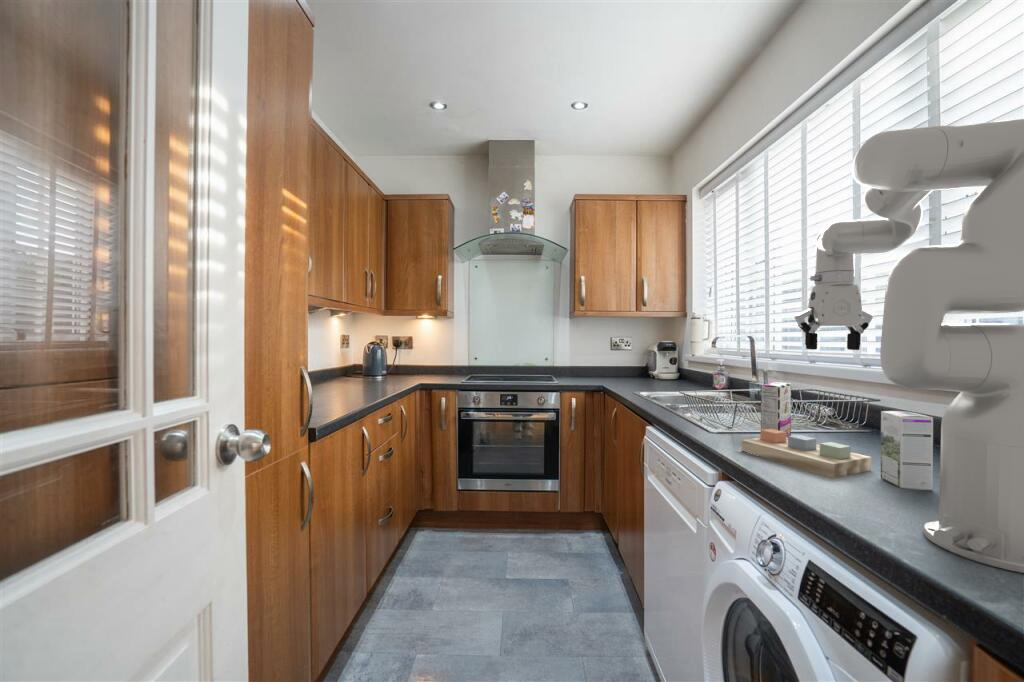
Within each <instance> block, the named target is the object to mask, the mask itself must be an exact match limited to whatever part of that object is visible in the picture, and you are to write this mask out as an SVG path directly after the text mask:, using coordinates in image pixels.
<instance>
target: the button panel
mask: <svg viewBox="0 0 1024 682" xmlns="http://www.w3.org/2000/svg"><path fill="white" fill-rule="evenodd" d="M742 451H745V452H748V453H747V454H749V453H752V454H755V455H754V456H756V455H758V456H757V457H759V456H761V457H760V458H762V457H764V459H766V458H768V459H767V460H769V459H770V461H773V462H775V463H779V462H780V464H784V465H787V466H790V467H793V468H796V467H797V468H796V469H800V470H804V471H806V472H811V473H813V474H814V473H815V474H818V475H821V476H824V477H827V478H831V479H836V478H841V477H846V476H850V475H856V474H861V473H865V472H870V471H872V463H873V461H872V458H873V457H872V456H869V455H863V454H860V453H856V452H852V451H851V458H849V459H844V460H838V459H834V458H830V457H826V456H823V455H820V444H818V443H816V450H811V451H803V450H799V449H795V448H791V447H788V438H787V437H786V442H785V443H778V444H775V443H771V442H767V441H763V440H760V437H754V438H746V439H741V452H742ZM745 452H744V453H745ZM752 454H751V455H752Z"/></svg>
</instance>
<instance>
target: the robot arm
mask: <svg viewBox="0 0 1024 682" xmlns="http://www.w3.org/2000/svg"><path fill="white" fill-rule="evenodd" d="M851 173H852V177H853V179H854V180H855V182H856V183H857V184H859V185H861V186H864V187H866V189H865V191H864V194H863V202H864V204H865V207H867V209H869V211H870V212H872V213H873V214H875V215H877V216H879V217H881V218H870V219H869V218H868V219H866V218H865V219H855V220H852V219H851V220H840V221H835V222H832V223H829V224H828V225H827V226H826V228H825V229H824V230H823V231H821V232H819V233H818V234H817V236H816V238H815V240H816V241H815V272H814V275H810V278H809V280H810V282H814V286H812V288H811V291H810V294H809V299H808V307H807V309H806V310H803V311H802V312H800V313H798V314H796V315H795V316H794V319H795V321H796V323H797V326H798V327H799V328H800V330H802V332H803V334H805V335H804V336H805V339H804V342H805V343H804V344H805V349H806V350H813V351H814V350H817V349H818V333H817V332H816V331H817V330H818V329H819V328H820V327H823V326H824V327H845V328H846V329H847V330H848V331H849V333H847V335H846V337H847V338H846V340H847V341H846V342H847V343H846V349H847V350H848V351H849V350H850V351H851V350H853V351H859V350H860V347H861V335H862V334H863V333H864V331H865V330H866V329H867V328H869V325H870V323H871V321H872V319H873V318H874V316H873V315H871V314H870V313H867V312H866V311H864V310H863V306H862V304H863V303H862V296H861V293H860V292H861V291H860V287H859V285H858V284H855V264H856V260H855V259H856V254H857V255H859V254H860V255H861V254H883V253H888V252H890V251H893V250H896V249H897V248H899V247H900V246H902V245H903V244H904V243H906V241H908V240H909V239H910V238H911V237H913V236H914V234H915V233H916V232H917V230H918V229H919V227H920V224H921V222H922V218H923V206H922V201H923V200H924V199H925V198H926V197H927V196H928V195H930V194H931V193H932V192H933V191H940V190H951V189H953V190H954V189H962V188H973V187H974V188H975V187H976V188H977V187H984V188H983V189H982V190H981V191H980V192H979V193H978V194H977V195H976V197H974V199H973V200H972V201H971V202H970V203H969V204H968V206H967V208H966V209H965V211H964V213H963V217H962V221H961V232H960V239H959V242H958V244H944V245H943V244H941V245H940V244H939V245H927V246H923V247H917V248H914V249H912V250H909V251H908V252H906V253H904V254H903V255H902V256H900V257H899V259H898V260H896V262H895V263H894V265H893V267H892V268H891V270H890V271H889V274H888V278H887V280H886V287H885V294H884V305H883V316H882V326H881V337H880V338H881V339H880V354H879V357H880V366H881V369H882V373H883V374H884V375H885V377H886V379H887V380H888V381H890V382H891V383H892V384H894V385H895V386H896V385H897V386H899V387H901V388H906V389H914V390H929V391H930V390H931V391H955V392H956V391H959V393H958V394H957V396H956V397H954V399H953V400H952V401H951V402H950V403H949V404H948V406H947V408H946V409H945V411H944V413H943V415H942V417H941V418H942V419H941V424H940V425H941V426H940V460H939V462H940V465H939V499H938V500H939V506H938V507H939V509H938V511H939V512H938V520H935V521H928V522H926V523H924V525H923V534H924V536H925V537H926V538H927V539H928V540H929V541H930V542H932V543H933V544H935V545H937V546H939V547H940V548H942V549H945V551H946V550H947V551H949V552H951V553H953V554H956V555H959V556H960V557H963V558H966V559H969V560H972V561H975V562H978V563H982V564H984V565H987V566H992V567H995V568H1000V569H1004V570H1007V571H1011V572H1012V571H1013V572H1015V573H1023V574H1024V324H1019V323H1008V322H1007V323H1006V322H1005V323H1004V322H1003V323H1002V322H1001V323H1000V322H962V323H943V322H944V318H945V317H946V316H945V315H946V314H949V315H950V314H951V315H953V314H955V315H956V314H965V315H966V314H1006V313H1007V314H1008V313H1009V314H1010V313H1020V312H1024V118H1019V119H1009V120H999V121H991V122H989V121H988V122H981V123H975V124H969V125H968V124H967V125H966V124H965V125H957V126H956V125H931V126H921V127H912V128H905V129H895V130H888V131H887V130H886V131H881V132H879V133H876V134H875V135H873V136H871V137H870V138H868V139H867V140H866V141H865V142H863V144H862V145H861V146H860V148H859V149H858V150H857V152H856V154H855V157H854V159H853V162H852V168H851ZM805 318H807V322H806V320H805Z"/></svg>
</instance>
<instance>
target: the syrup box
mask: <svg viewBox="0 0 1024 682" xmlns="http://www.w3.org/2000/svg"><path fill="white" fill-rule="evenodd" d="M933 455H934V417H932V416H928V415H925V414H920V413H915V412H912V411H903V410H883V411H882V410H881V411H880V479H881V480H884V481H886V482H888V483H890V484H892V485H894V486H896V487H898V488H900V489H906V490H918V491H920V490H921V491H933V488H934V485H933V484H934V481H933V478H934V471H933V470H934V456H933Z"/></svg>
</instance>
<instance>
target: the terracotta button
mask: <svg viewBox="0 0 1024 682" xmlns="http://www.w3.org/2000/svg"><path fill="white" fill-rule="evenodd" d="M759 438H760V440H763V441H767V442H771V443H775V444H778V443H785V442H786V432H784V431H779V430H774V429H764V430H761V429H760V436H759Z"/></svg>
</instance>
